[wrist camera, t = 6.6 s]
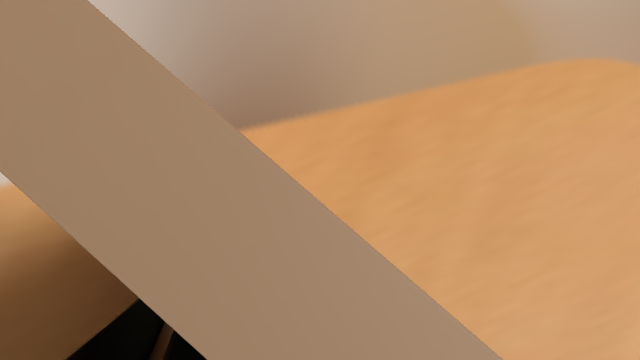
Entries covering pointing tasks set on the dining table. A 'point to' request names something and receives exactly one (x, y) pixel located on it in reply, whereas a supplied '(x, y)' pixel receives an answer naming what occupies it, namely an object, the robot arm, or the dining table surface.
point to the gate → (195, 205)
